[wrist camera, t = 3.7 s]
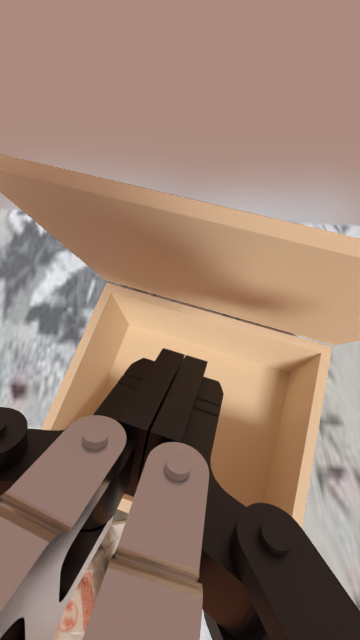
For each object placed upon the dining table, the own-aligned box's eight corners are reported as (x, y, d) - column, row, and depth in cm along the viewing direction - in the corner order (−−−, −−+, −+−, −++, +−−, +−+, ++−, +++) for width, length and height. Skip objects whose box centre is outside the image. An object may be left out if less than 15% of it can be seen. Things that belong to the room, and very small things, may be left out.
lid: (-36, 161, 10) (-29, 143, 10) (105, 279, 22) (107, 272, 23) (545, 303, 7) (549, 279, 8) (334, 345, 20) (336, 336, 20)
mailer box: (68, 462, 26) (21, 471, 19) (127, 318, 30) (107, 281, 23) (262, 535, 24) (293, 578, 16) (296, 369, 28) (332, 345, 21)
